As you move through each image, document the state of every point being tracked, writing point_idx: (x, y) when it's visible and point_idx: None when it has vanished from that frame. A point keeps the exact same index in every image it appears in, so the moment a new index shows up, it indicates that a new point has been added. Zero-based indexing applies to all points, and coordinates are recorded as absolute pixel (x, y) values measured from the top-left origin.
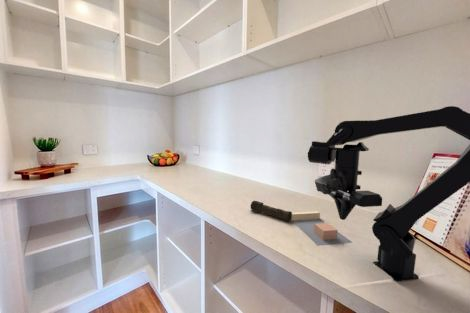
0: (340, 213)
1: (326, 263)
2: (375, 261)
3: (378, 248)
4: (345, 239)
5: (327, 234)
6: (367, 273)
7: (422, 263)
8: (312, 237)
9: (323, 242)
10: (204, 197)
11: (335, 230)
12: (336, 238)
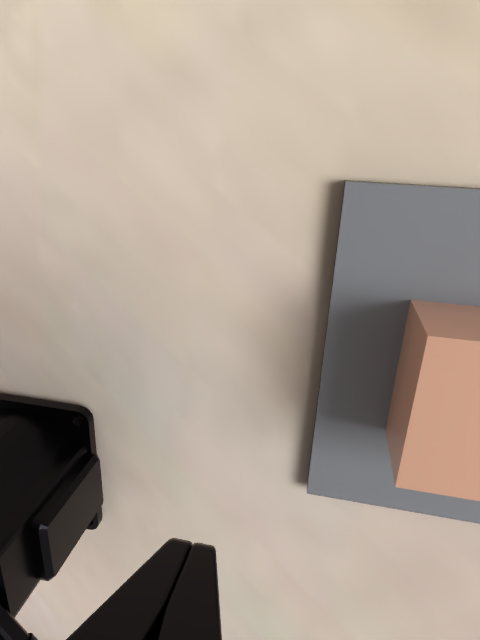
0: (163, 625)
1: (126, 100)
2: (90, 434)
3: (51, 509)
4: (355, 480)
5: (409, 364)
6: (22, 307)
7: (83, 616)
8: None
9: (370, 274)
10: None
11: (399, 464)
12: (387, 427)
